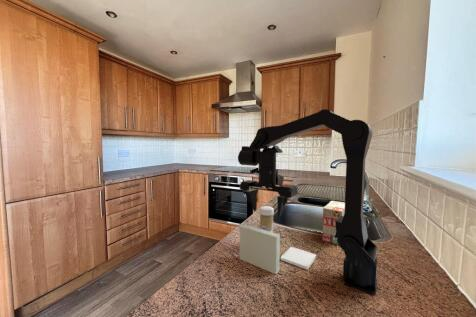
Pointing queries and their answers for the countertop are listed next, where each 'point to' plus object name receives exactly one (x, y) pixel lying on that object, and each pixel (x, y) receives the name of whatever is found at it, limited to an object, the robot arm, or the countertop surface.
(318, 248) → the countertop surface
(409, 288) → the countertop surface
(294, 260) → the tile pad
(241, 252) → the pale green board
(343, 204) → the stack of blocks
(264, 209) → the seasoning jar
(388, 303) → the countertop surface
